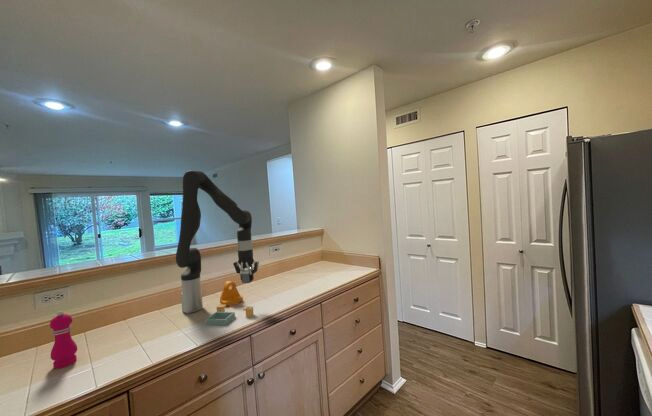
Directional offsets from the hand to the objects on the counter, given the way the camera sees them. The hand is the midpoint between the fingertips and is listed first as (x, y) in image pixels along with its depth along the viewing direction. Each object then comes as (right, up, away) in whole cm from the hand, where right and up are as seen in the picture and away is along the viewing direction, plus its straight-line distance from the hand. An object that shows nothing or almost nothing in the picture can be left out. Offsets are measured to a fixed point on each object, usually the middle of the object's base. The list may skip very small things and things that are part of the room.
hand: (247, 280), depth 141 cm
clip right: (+4, -15, -8) cm, 17 cm away
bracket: (-12, -16, +11) cm, 23 cm away
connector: (0, -1, 0) cm, 1 cm away
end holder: (-9, -16, -12) cm, 22 cm away
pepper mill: (-56, -20, -40) cm, 72 cm away
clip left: (-13, -16, -3) cm, 21 cm away
